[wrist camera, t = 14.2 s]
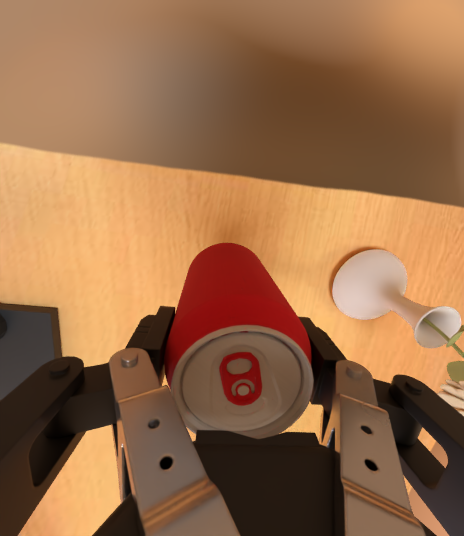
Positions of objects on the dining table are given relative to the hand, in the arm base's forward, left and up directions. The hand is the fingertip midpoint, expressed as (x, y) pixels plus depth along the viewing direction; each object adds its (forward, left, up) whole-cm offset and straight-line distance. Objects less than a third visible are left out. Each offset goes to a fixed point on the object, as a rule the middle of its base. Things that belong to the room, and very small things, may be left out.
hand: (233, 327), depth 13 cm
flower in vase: (+21, +10, -24) cm, 34 cm away
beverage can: (0, 0, -8) cm, 8 cm away
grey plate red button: (-10, -36, -24) cm, 44 cm away
